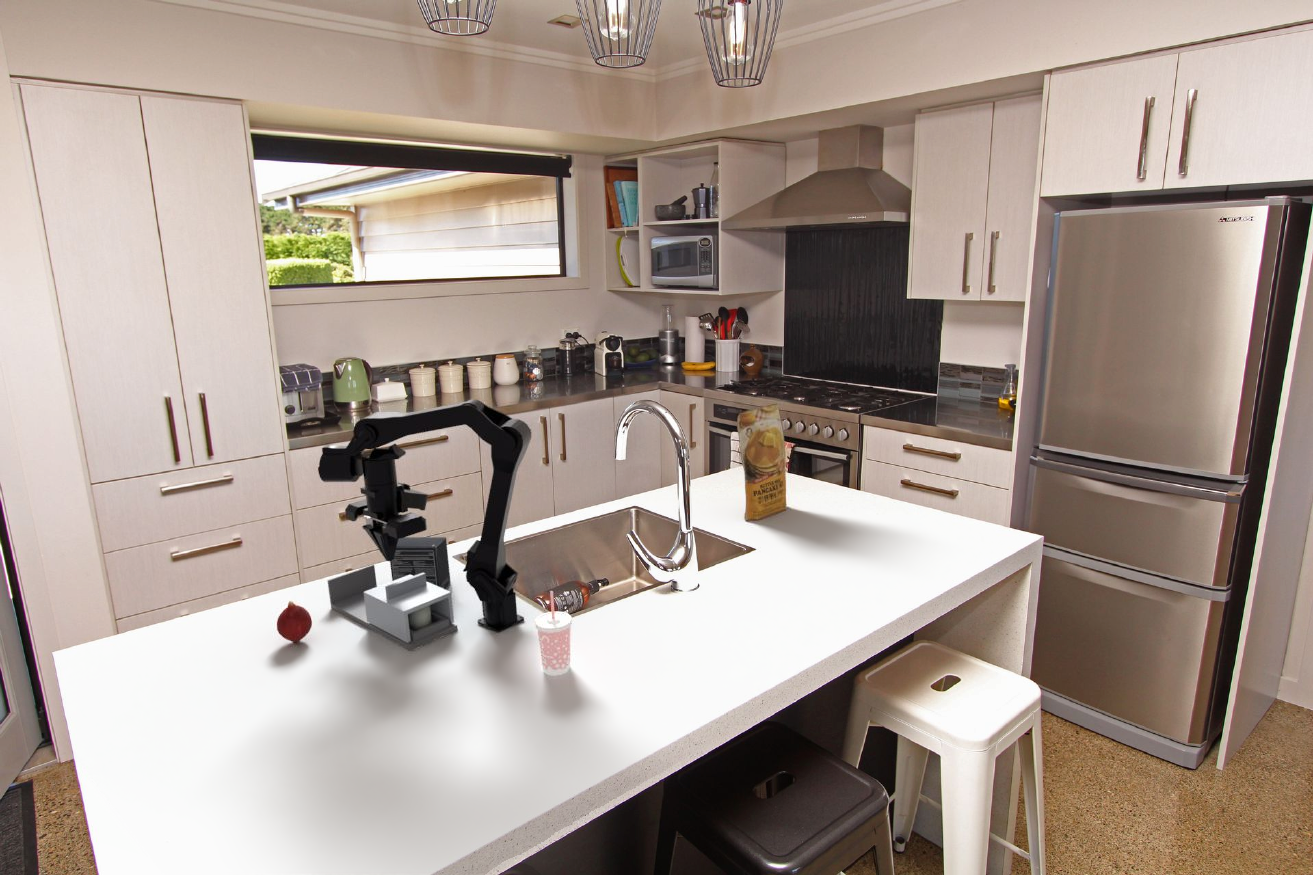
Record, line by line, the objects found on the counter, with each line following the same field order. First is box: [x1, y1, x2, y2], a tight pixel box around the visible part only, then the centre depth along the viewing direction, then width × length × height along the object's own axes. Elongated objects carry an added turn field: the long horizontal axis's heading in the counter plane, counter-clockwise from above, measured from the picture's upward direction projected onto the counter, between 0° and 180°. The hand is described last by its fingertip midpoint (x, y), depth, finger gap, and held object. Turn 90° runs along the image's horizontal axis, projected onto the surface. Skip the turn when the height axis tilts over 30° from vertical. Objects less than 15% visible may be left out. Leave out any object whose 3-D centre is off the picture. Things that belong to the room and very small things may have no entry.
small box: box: [389, 536, 452, 590], centre depth 166 cm, size 11×6×10 cm, turn 84°
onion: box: [276, 600, 313, 643], centre depth 144 cm, size 6×6×8 cm
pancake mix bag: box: [736, 403, 787, 521], centre depth 204 cm, size 7×19×28 cm, turn 132°
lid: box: [364, 573, 455, 643], centre depth 148 cm, size 14×10×8 cm
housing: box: [327, 564, 459, 652], centre depth 152 cm, size 28×10×6 cm, turn 50°
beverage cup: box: [534, 590, 573, 676], centre depth 132 cm, size 6×6×14 cm
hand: (389, 560), depth 149 cm, fingers closed
